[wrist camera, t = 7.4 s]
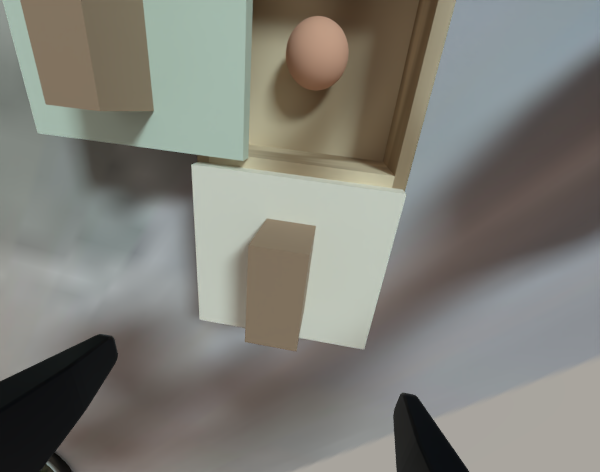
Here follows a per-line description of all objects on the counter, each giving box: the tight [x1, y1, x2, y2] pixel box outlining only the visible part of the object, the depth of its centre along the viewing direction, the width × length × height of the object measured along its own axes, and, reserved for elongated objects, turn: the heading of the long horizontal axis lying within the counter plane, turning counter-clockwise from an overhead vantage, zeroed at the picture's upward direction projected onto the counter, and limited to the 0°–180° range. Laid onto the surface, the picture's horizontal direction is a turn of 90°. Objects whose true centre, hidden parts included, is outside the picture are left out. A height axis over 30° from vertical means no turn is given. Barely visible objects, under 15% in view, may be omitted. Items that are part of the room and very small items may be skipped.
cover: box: [2, 0, 253, 161], centre depth 10 cm, size 10×9×4 cm
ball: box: [286, 16, 349, 91], centre depth 14 cm, size 3×3×3 cm
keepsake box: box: [197, 0, 456, 192], centre depth 15 cm, size 10×20×4 cm, turn 174°
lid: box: [191, 162, 406, 351], centre depth 14 cm, size 10×9×4 cm
